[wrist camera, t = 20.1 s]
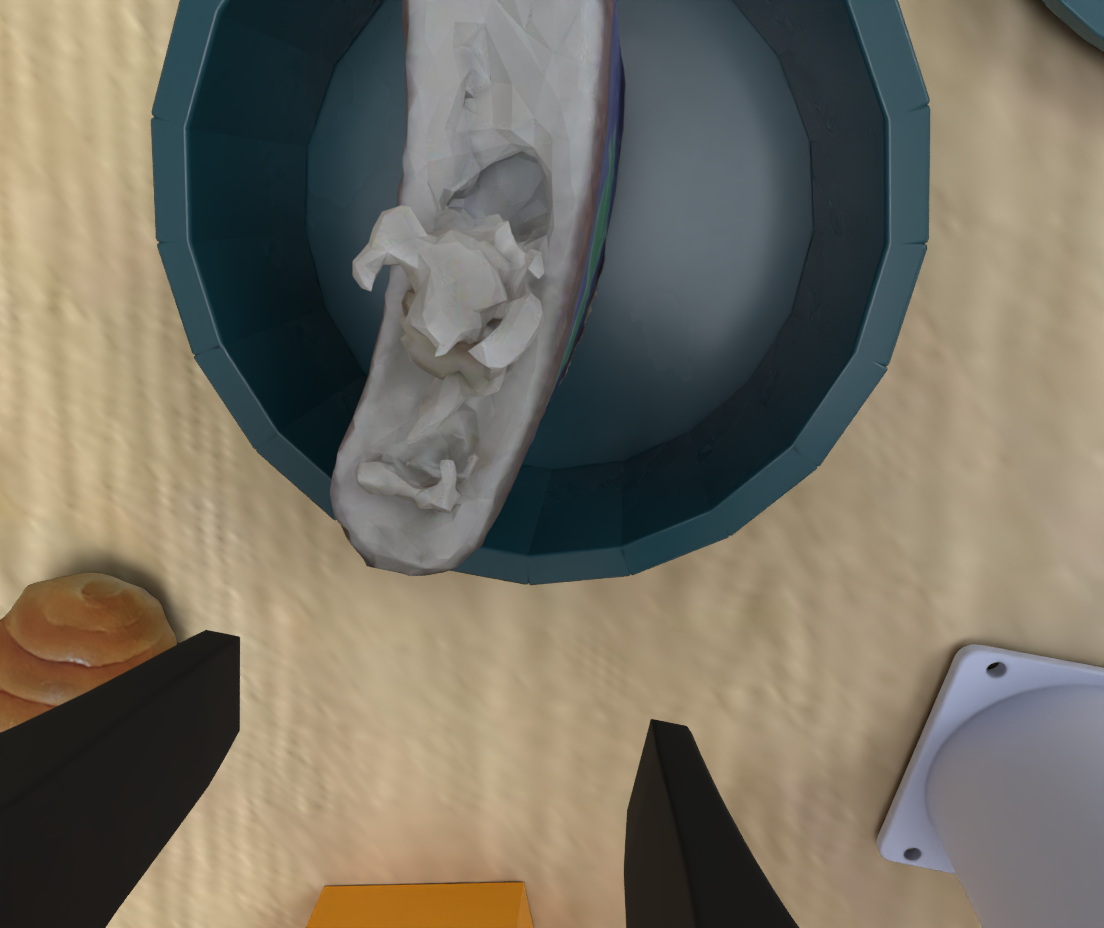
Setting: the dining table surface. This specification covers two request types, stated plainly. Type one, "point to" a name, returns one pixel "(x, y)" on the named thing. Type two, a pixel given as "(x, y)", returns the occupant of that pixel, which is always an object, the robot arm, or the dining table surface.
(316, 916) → the orange juice
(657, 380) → the pan
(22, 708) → the pastry
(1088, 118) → the dining table surface
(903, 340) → the dining table surface
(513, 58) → the flask
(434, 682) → the dining table surface
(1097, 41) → the lid
